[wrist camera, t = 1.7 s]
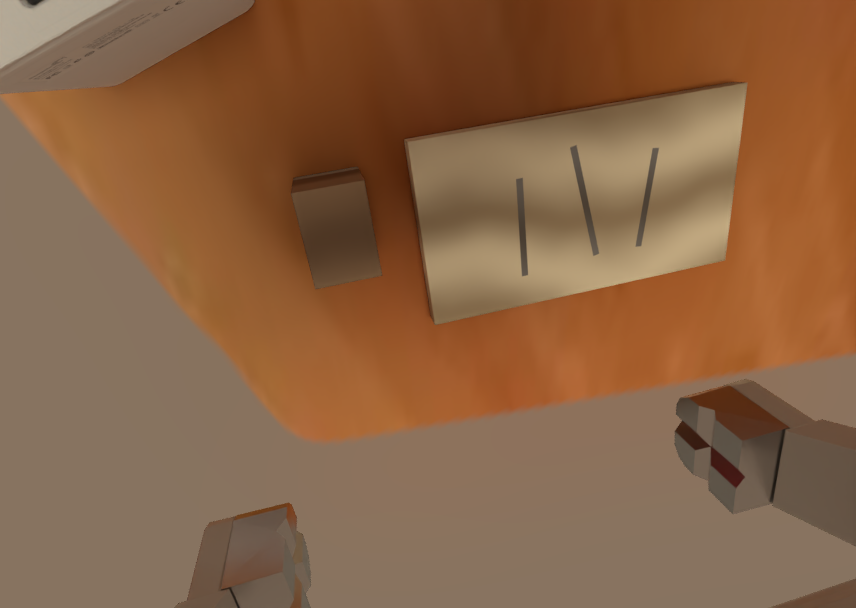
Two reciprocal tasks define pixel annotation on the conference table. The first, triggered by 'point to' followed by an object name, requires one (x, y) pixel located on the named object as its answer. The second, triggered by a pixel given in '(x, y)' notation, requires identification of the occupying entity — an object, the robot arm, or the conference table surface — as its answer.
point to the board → (574, 199)
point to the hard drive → (98, 38)
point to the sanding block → (336, 226)
